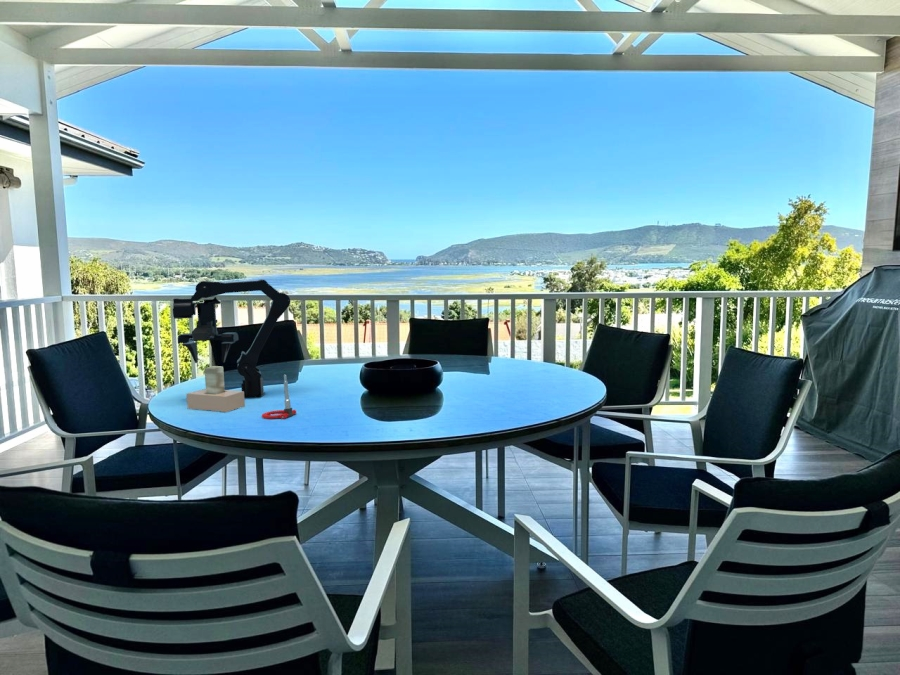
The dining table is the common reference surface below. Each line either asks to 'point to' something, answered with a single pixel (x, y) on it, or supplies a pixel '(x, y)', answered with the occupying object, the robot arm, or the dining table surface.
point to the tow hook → (288, 409)
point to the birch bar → (214, 380)
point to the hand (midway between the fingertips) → (209, 362)
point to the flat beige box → (215, 400)
